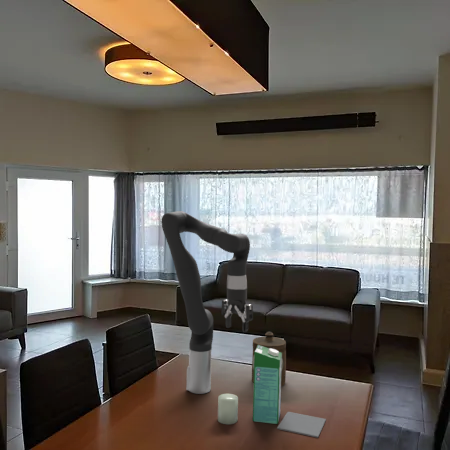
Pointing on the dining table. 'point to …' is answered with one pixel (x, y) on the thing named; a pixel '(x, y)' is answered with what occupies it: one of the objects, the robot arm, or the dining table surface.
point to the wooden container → (274, 344)
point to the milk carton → (267, 385)
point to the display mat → (302, 424)
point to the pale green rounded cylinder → (227, 408)
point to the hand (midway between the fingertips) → (236, 329)
